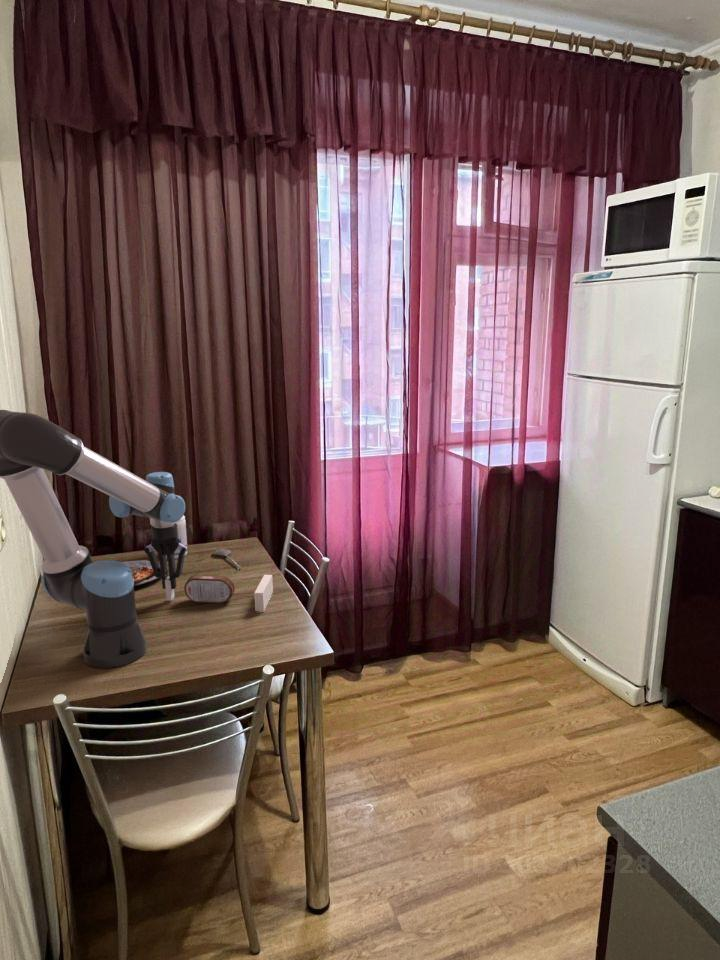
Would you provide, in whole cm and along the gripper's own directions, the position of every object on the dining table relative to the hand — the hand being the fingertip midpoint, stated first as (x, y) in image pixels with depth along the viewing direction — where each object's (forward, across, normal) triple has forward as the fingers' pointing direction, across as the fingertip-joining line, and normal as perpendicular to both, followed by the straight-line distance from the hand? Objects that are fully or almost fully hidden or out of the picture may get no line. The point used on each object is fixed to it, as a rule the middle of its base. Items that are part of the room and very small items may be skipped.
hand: (170, 598), depth 193 cm
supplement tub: (+1, +13, -40) cm, 42 cm away
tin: (+1, -12, 0) cm, 12 cm away
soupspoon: (+2, -9, -35) cm, 36 cm away
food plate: (+1, +21, -18) cm, 28 cm away
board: (+1, -29, 0) cm, 29 cm away
